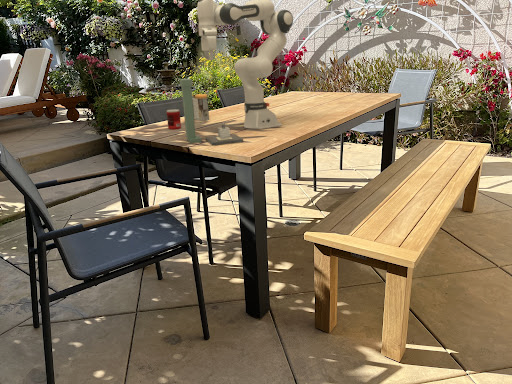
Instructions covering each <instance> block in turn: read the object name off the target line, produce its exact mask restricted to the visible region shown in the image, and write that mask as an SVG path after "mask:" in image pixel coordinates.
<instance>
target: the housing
mask: <svg viewBox="0 0 512 384" xmlns="http://www.w3.org/2000/svg"><path fill="white" fill-rule="evenodd" d="M230 135H231V128H229V127H228V126H226V124H225V123H221V127H217V136H218V138H220V139H228V138H230Z"/></svg>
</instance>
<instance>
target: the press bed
mask: <svg viewBox="0 0 512 384" xmlns="http://www.w3.org/2000/svg"><path fill="white" fill-rule="evenodd" d="M205 141H206V142H207V143H208V144H210V146H220V145H229V144H231V145H232V144H238V143H244V138H242V137H241V136H239V135H238V134H235V133H234V134H230V138H228V139H220V138H218V135H216V136H215V135H214V136H206V137H205Z"/></svg>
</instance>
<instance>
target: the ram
mask: <svg viewBox="0 0 512 384" xmlns="http://www.w3.org/2000/svg"><path fill="white" fill-rule="evenodd" d="M194 96H195V98H192V101H193V112H194V119H199V108H198V99H202V98H208V94H207V93H201V94H199V93H198V94H195V95H194Z"/></svg>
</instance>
